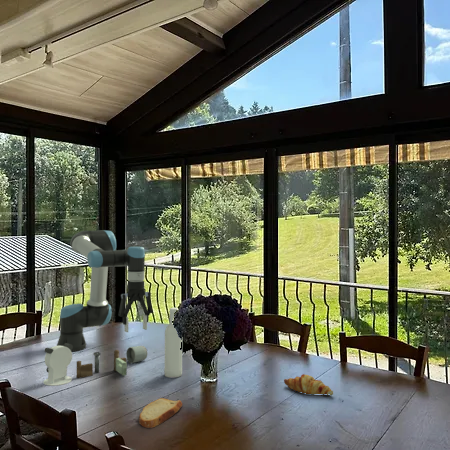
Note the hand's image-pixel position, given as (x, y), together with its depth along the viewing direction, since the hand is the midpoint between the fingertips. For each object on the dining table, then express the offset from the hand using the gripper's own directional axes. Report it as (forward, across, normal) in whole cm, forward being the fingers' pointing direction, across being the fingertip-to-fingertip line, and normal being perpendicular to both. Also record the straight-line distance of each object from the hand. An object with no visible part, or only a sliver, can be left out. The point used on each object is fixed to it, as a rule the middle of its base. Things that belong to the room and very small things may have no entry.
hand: (135, 330), depth 202 cm
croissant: (+20, +49, -60) cm, 80 cm away
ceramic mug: (+20, +7, +17) cm, 27 cm away
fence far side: (+19, -20, +8) cm, 29 cm away
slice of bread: (+20, -10, -46) cm, 51 cm away
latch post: (+19, -14, +10) cm, 26 cm away
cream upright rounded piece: (+20, -32, +9) cm, 38 cm away
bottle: (+20, +13, -12) cm, 26 cm away
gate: (+19, -6, +2) cm, 20 cm away
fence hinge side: (+19, -4, +8) cm, 21 cm away
